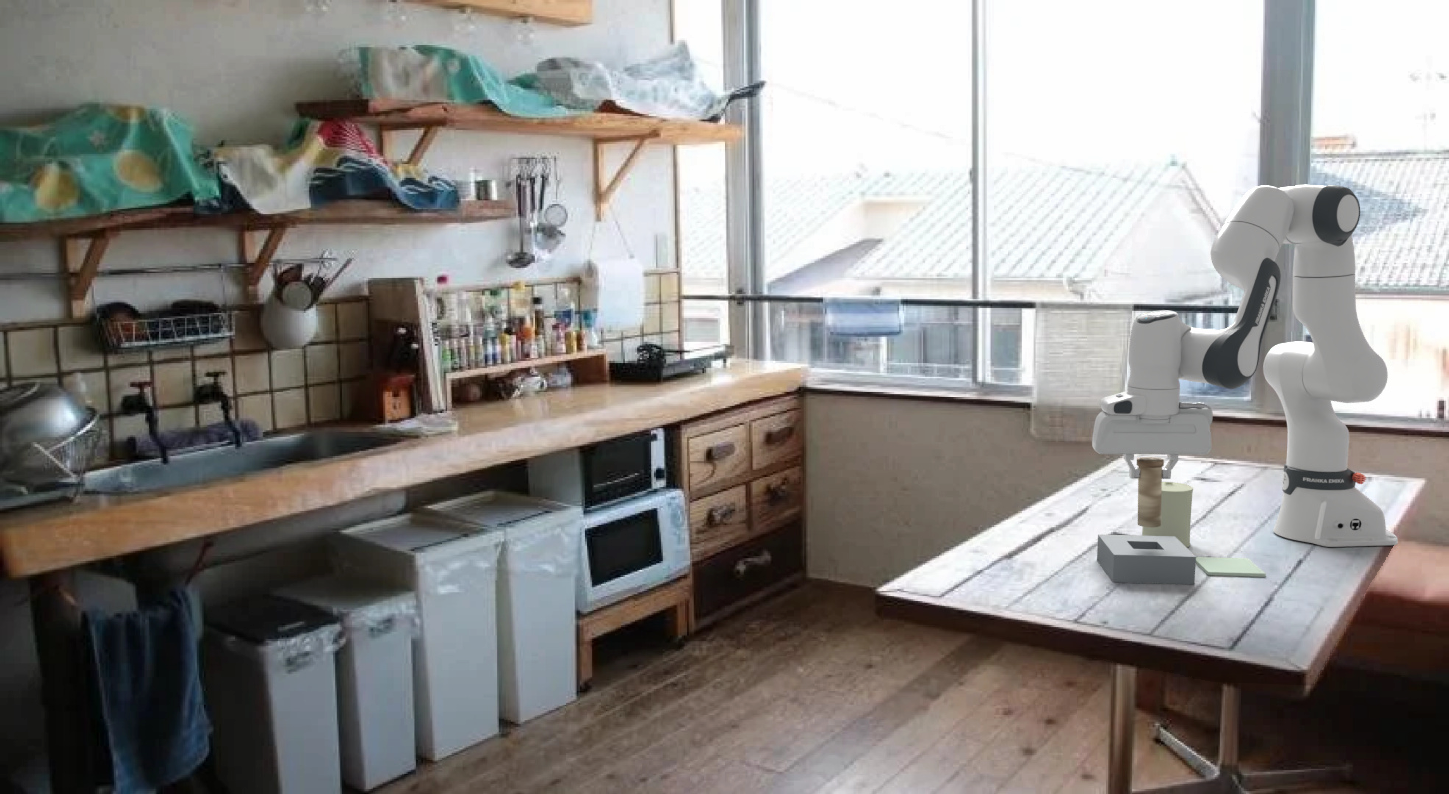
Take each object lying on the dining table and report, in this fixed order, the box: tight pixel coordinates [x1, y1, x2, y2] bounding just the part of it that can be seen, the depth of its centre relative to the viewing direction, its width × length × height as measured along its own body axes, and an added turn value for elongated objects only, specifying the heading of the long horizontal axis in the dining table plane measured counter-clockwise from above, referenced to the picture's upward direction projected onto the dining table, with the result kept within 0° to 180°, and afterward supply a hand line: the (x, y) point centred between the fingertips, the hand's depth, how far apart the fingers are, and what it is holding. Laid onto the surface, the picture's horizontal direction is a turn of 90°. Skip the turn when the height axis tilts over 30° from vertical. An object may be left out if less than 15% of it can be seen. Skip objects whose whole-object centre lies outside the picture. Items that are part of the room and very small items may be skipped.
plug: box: [1136, 456, 1165, 528], centre depth 220 cm, size 5×5×12 cm
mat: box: [1196, 556, 1267, 578], centre depth 224 cm, size 10×10×1 cm
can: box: [1141, 481, 1194, 549], centre depth 241 cm, size 9×9×12 cm
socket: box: [1096, 534, 1197, 585], centre depth 222 cm, size 14×14×5 cm
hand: (1149, 478), depth 220 cm, fingers closed on plug, 4 cm apart
